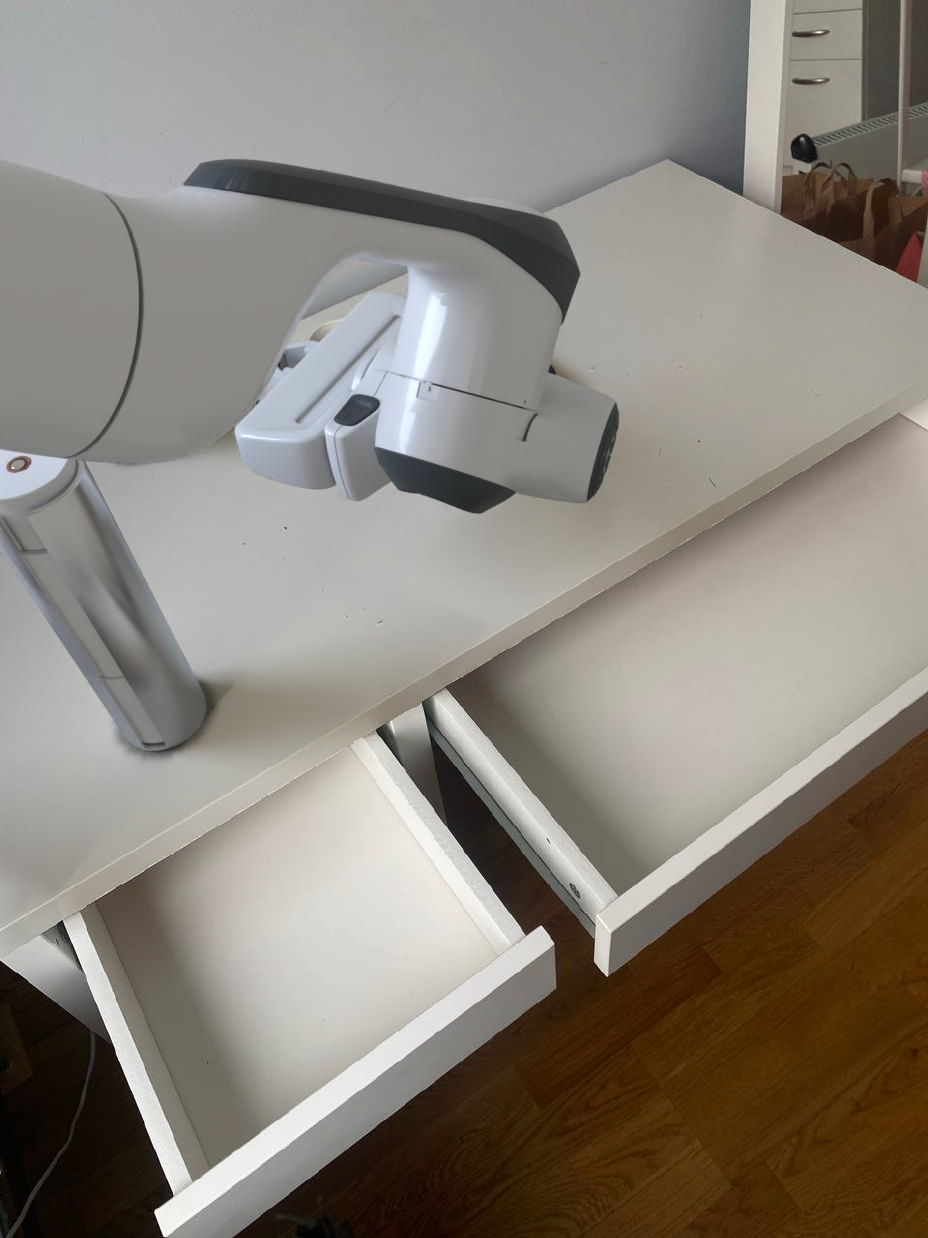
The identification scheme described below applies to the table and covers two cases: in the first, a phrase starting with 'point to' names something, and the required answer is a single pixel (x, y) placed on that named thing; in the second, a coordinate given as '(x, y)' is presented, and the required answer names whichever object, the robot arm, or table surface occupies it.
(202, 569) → the table surface
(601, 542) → the table surface
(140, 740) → the silver tall cylinder
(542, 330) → the robot arm
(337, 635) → the table surface
